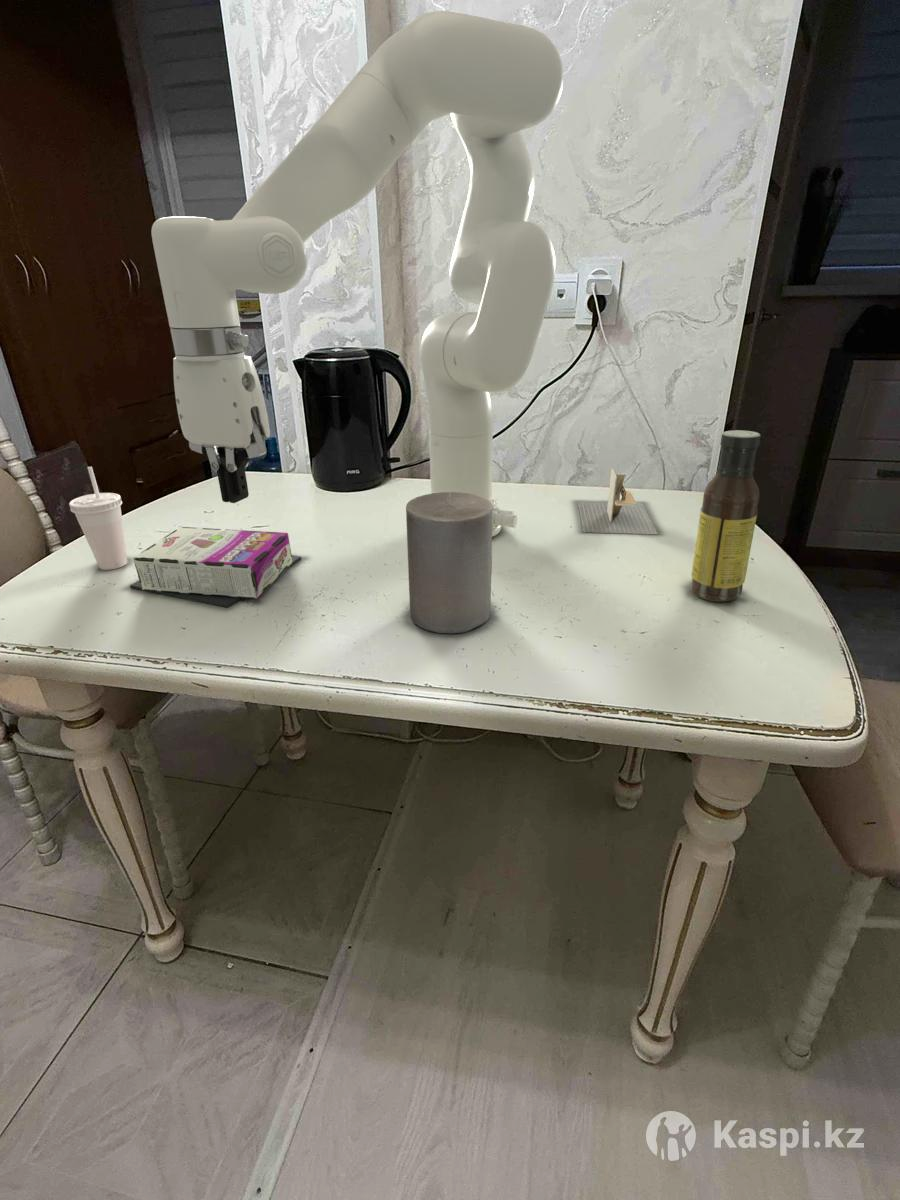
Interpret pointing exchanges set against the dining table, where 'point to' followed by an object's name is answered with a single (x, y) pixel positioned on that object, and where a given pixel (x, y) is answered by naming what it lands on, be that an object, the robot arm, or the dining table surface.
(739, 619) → the dining table surface
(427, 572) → the pillar candle
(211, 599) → the mat
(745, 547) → the sauce bottle
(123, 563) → the smoothie
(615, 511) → the architectural model
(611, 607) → the dining table surface
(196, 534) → the candy bar box
